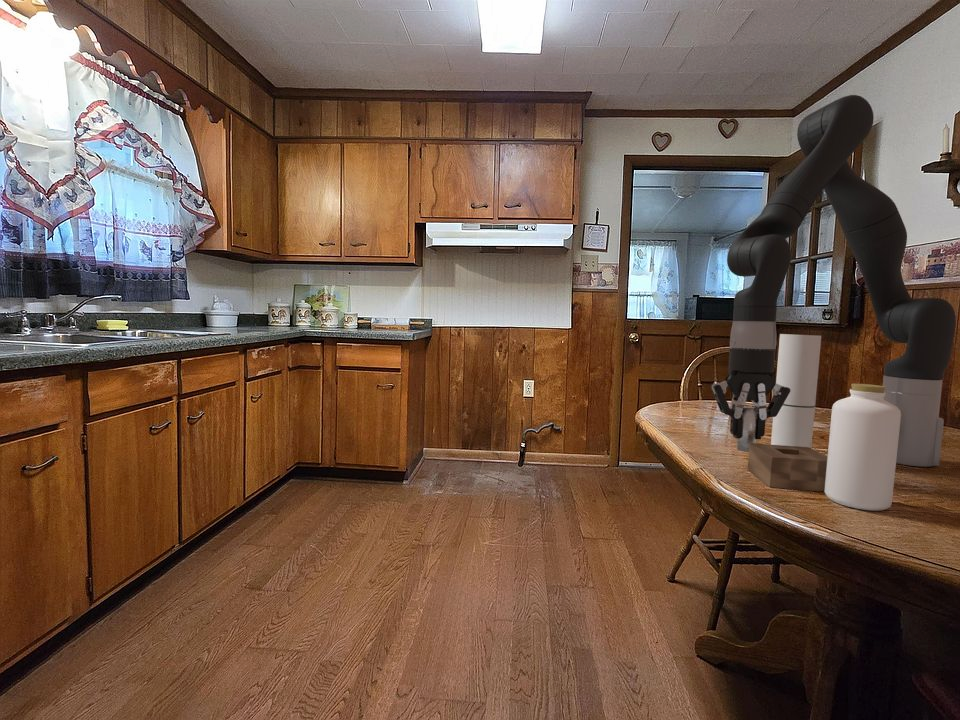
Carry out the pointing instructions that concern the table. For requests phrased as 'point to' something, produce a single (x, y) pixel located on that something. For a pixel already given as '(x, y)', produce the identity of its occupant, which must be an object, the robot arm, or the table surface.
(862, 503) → the potion bottle
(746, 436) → the peg
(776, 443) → the cylindrical container
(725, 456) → the table surface
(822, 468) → the walnut block
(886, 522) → the table surface
